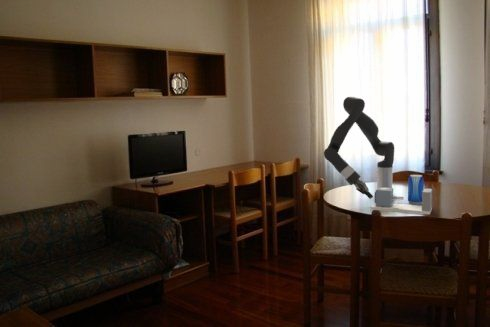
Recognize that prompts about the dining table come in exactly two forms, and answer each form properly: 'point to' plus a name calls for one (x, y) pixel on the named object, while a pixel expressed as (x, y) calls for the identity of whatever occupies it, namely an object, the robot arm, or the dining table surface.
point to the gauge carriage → (385, 197)
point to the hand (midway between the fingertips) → (371, 197)
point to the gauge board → (422, 209)
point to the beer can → (415, 189)
